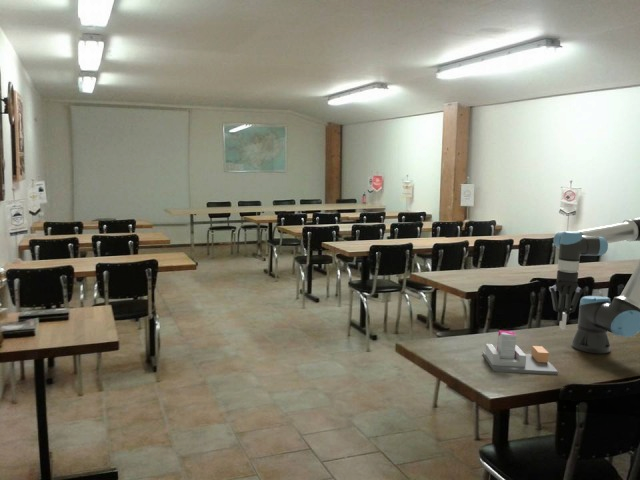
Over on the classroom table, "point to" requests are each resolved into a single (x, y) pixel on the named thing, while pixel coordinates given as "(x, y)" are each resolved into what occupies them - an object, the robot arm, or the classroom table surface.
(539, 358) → the block
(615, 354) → the classroom table surface
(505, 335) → the supplement box
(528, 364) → the block
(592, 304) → the robot arm
